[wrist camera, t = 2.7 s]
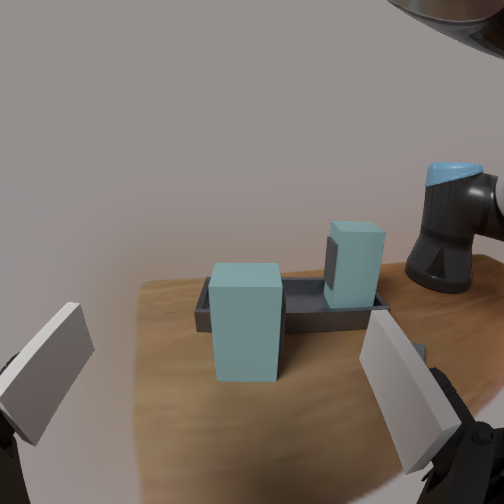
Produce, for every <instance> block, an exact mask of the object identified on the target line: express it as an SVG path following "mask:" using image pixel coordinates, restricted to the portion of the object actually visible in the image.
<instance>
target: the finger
mask: <svg viewBox="0 0 504 504" xmlns="http://www.w3.org/2000/svg"><path fill="white" fill-rule="evenodd" d="M208 289H209V302H210V314H211V326H212V337H213V347H214V357H215V367H216V376H217V381H233V382H276V378H277V365H278V356H283V344H284V331H285V318H286V299H285V294H284V288H283V285H282V282H281V276H280V271H279V266H278V263H216V264H215V267H214V270H213V273H212V276H211V280H210V283H209V286H208Z"/></svg>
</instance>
